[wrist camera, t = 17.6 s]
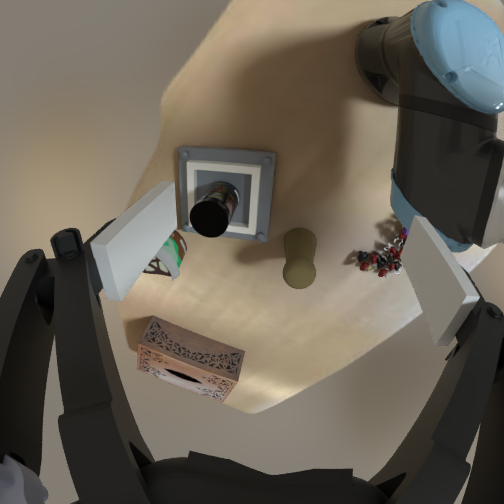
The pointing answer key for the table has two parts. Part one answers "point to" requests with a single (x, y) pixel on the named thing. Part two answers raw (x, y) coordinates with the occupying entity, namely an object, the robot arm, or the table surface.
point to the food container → (168, 257)
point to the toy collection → (381, 260)
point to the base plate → (238, 174)
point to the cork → (299, 258)
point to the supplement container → (215, 209)
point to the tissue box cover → (189, 359)
